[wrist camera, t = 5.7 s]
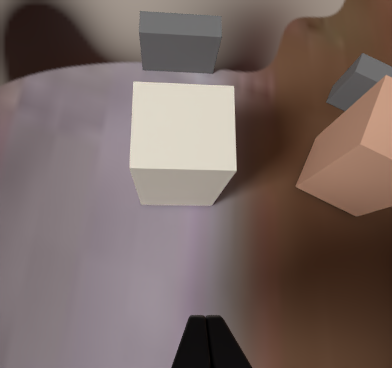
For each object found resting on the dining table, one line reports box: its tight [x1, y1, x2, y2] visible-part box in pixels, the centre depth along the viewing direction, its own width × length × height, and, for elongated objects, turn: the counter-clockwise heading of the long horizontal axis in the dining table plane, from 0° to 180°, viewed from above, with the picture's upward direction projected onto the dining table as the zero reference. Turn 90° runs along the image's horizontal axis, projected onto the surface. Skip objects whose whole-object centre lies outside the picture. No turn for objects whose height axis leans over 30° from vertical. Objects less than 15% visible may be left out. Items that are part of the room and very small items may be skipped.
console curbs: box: [139, 11, 392, 111], centre depth 23 cm, size 32×6×4 cm, turn 64°
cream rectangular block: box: [130, 82, 237, 206], centre depth 19 cm, size 4×4×8 cm
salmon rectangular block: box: [295, 75, 392, 217], centre depth 20 cm, size 4×4×8 cm
